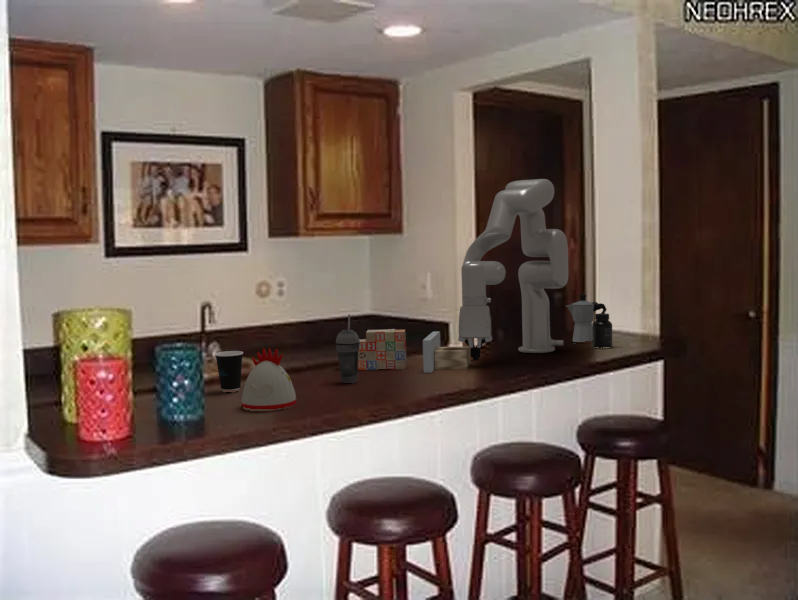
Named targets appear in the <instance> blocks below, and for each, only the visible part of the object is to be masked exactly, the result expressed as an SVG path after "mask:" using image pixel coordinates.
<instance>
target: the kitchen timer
mask: <svg viewBox="0 0 798 600" xmlns="http://www.w3.org/2000/svg"><path fill="white" fill-rule="evenodd" d="M267 350H268V351H266V349H265V348H262V353H261V354H260V352H256V356H257V359H256V358H255V357H253V356H252V357H251V361H252V362H253V365H254V367H253V368H252V369H251V370H250V373H249V374H248V376H247V378H246V380H245V383H244V387H243V391H242V394H241V407H242V406H243V407H245V408H250V409H277V408H284V407H289V406H292V405H294V404H296V405H297V395H296V390H295V388H294V385H293V382H292V380H291V379H292V378H290V376H289V374H288V373H287V371H286V369H284V367H282V366H281V365H280V364H281V361H282V359H283V356H284V353H281V355H279V353H278V352H279V350H278V348H276V349H275V350H274V352H273V353H274V354H272V350H271V348H270V347H269V348H268V349H267ZM257 360H258V361H257Z"/></svg>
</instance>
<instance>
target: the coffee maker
mask: <svg viewBox="0 0 798 600" xmlns="http://www.w3.org/2000/svg"><path fill="white" fill-rule="evenodd" d="M586 297H587V294H579V299H580V300H579V301H576V302H573V303H571V304H567V305H565V307H566V308H567V309H568V311H569V312H570V314H571V316H572V321H573V322H574V326H573V334H572V341H573V342H585V341H592V340H593V334H592V324H593V322H594V317H595V312H596V311H599V310H601V309H602V310H601V313H606V312H607V307H606V305H605V304H604V303H599V302H597V301H592V302H591V301H588V300H586Z"/></svg>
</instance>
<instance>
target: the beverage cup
mask: <svg viewBox="0 0 798 600" xmlns="http://www.w3.org/2000/svg"><path fill="white" fill-rule="evenodd" d="M347 315H348V317H347V318H348V319H347V320H348V321H347V329H343V330H341V331H340V332H339V333H338V334H337V335H336V339H335V343H334V345H335V349H336V351H337V358H338V369H339V368H340V370H339V375H340V379H341V383H342V382H343V383H352V384H355V383H354V382H356V383H358V374H359V373H358V371H359V370H358V353H359V346H360V341H359V339H360V337H359V335H358V334H357V332H355V331H354V330H352V329H350V328H351V314H347ZM343 383H342V384H343Z"/></svg>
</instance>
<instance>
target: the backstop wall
mask: <svg viewBox="0 0 798 600" xmlns="http://www.w3.org/2000/svg"><path fill="white" fill-rule="evenodd" d="M438 347H441V331H438V330H437V331H432V332H431V333H429V334H428V335H427V336H426V337H425V338H424V339H423V340H422V360H423V373H424V374H425V373H426V374H428V373H429V374H430V373H431V374H432V373H433V371H435V356H434V351H435V350H436V349H437V348H438Z"/></svg>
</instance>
